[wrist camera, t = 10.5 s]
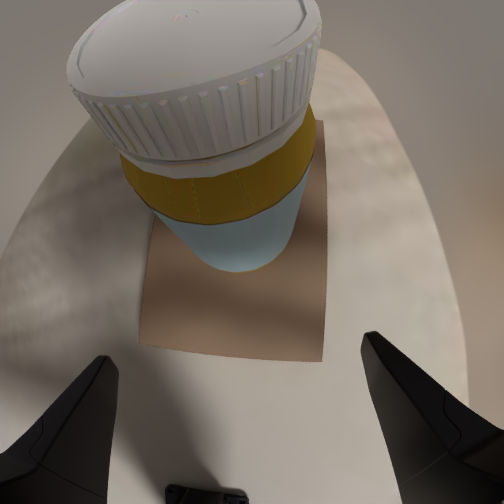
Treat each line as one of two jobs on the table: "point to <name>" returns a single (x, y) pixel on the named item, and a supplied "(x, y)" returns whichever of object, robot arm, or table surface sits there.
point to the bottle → (208, 115)
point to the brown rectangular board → (244, 290)
